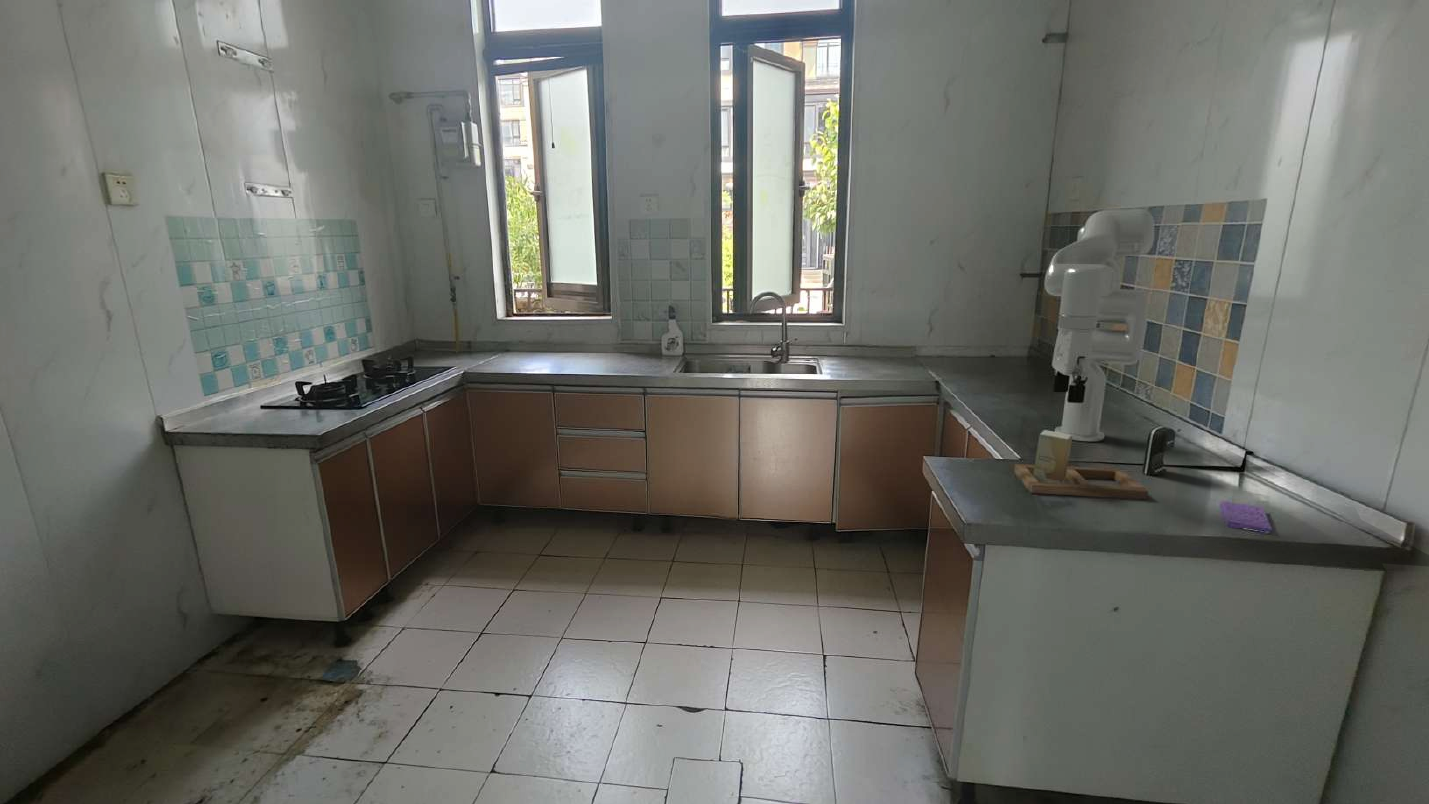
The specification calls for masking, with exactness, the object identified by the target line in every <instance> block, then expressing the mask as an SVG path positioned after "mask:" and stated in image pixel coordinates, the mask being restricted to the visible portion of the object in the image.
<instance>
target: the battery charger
mask: <svg viewBox="0 0 1429 804" xmlns="http://www.w3.org/2000/svg"><path fill="white" fill-rule="evenodd" d="M1175 441H1176V431H1175V429H1173V428H1169V427H1166V426H1156V427H1154V428H1151V429H1150V430H1149V433H1148V436H1147V441H1146V446H1145V453H1144V460H1143V465H1142V474H1145V475H1150V476H1160V475H1161V474H1164V473H1165V472H1167V467H1166V466H1165V463H1164V455H1165V453H1167V452H1169V451H1171V450H1173V449H1174V447H1175Z"/></svg>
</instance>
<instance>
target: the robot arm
mask: <svg viewBox="0 0 1429 804" xmlns="http://www.w3.org/2000/svg"><path fill="white" fill-rule="evenodd" d="M1076 239H1077V240H1076V241H1073V242H1072V243H1071V244H1069V245H1066V246H1065V247H1062V248H1061V249H1060V250H1058V251H1056V253H1055V254H1054V255H1053V257H1052V258H1051V260H1050V263H1049V266H1048V268H1047V271H1046V273H1045V277H1044V289H1045V291H1046V293H1048V294H1049V295H1050V296H1053V297H1061V298H1060V299H1061V300H1060V306H1059V313H1058V314H1059V315H1058V323H1057V330H1058V332H1057V335H1056V340H1055V344H1054V351H1053V356H1052V361H1051V366H1052V368H1053V369H1054V376H1053V377H1054V378H1053V386H1052V391H1053V392H1054V393H1065V398H1064V405H1063V414H1062V421H1061V426H1056V427H1055V429H1054V432H1060V433H1064V434H1069V435H1073V437H1072V441H1077V442H1099V441H1102V440H1104V439H1105V433H1104V432H1103V431H1100V426H1101V420H1102V419H1101V418H1102V412H1103V406H1104V399H1105V391H1106V384H1107V377H1106V374H1105V372H1104V370H1103V369H1102V368H1101V366H1100V365H1099V364H1113V365H1125V366H1126V365H1128V366H1129V365H1134V364H1136V363H1138V361H1139V360H1140V358H1141V356H1142V350H1143V346H1144V341H1145V340H1144V339H1145V332H1146V327H1147V326H1146V325H1147V319H1148V314H1149V313H1148V312H1149V297H1148V295H1147V294H1146V293H1145V292H1144V291H1142V290H1137V289H1124V288H1123V289H1120V280H1121V273H1122V271H1121V268H1120V266H1119V265H1118V263H1117V262H1116V260H1115V259H1114V258H1115V256H1116V257H1117V256H1118V257H1119V256H1121V257H1122V256H1124V257H1125V256H1126V257H1130V256H1134V257H1138V256H1139V257H1140V256H1144V255H1146V254H1148V253H1149V252H1150V251H1151V249H1152V247H1153V245H1154V241H1155V221H1154V217H1153V215H1152V214H1151V212H1150V211H1148V210H1146V209H1143V208H1130V209H1129V208H1128V209H1127V208H1126V209H1125V208H1123V209H1106V210H1105V209H1104V210H1099V211H1097V212H1095V213H1094V212H1093V214H1092V215H1090V216H1089V217H1088V219H1087V220H1086V221H1085V225H1083V226H1082V227H1080V229H1079V230H1078V232H1077V238H1076ZM1098 324H1106V325H1107V324H1110V325H1122V326H1124V327H1125V329H1118V328H1117V329H1115V328H1107V327H1105V328H1104V327H1103V328H1102V327H1097V325H1098Z"/></svg>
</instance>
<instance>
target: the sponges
mask: <svg viewBox="0 0 1429 804" xmlns="http://www.w3.org/2000/svg"><path fill="white" fill-rule="evenodd" d="M1219 505H1220V506H1219V507H1220V509H1221V513H1222V516H1223V522H1224V521H1225V523H1224V526H1225V525H1226V526H1225V527H1228V526H1231V527H1230V528H1233V527H1237V528H1236V529H1239V528H1247V529H1253V530H1258V531H1263V532H1268V533H1270V534H1271V532H1272V526H1271V524H1270V522H1269V519H1268V516H1267V514H1266V510H1265V509H1264V507H1263V506H1259V505H1252V504H1246V503H1245V504H1242V503H1238V502H1231V501H1229V500H1228V501H1226V500H1221V502H1220V504H1219Z"/></svg>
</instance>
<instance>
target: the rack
mask: <svg viewBox="0 0 1429 804" xmlns="http://www.w3.org/2000/svg"><path fill="white" fill-rule="evenodd" d="M1034 469H1035V464H1027V463H1025V464H1024V463H1014V464H1013V472H1014V474H1015V475H1016V476H1017V477H1018V479H1019V480H1020V481H1021V482H1022V484H1023V485H1024V486H1025V488H1026V489H1027V490H1028V491H1029V493H1030V494H1044V495H1060V496H1061V495H1063V496H1064V495H1065V496H1081V497H1098V498H1099V497H1102V498H1113V499H1114V498H1117V499H1133V500H1136V499H1137V500H1147V499H1148V494H1149V490H1148V489H1147V488H1145V487H1144V486H1142V485H1141V484H1140V483H1139V482H1138V481H1136V480H1135V478H1133V477H1131V476H1130V475H1128V474H1127V473H1126V472H1125V471H1123V469H1121V468H1112V467H1111V468H1107V467H1089V466H1087V467H1086V466H1071V465H1070V466H1067V472H1066V478H1065V480H1067V481H1068V482H1069V483H1067V482H1066V483H1049V482H1038V481H1037V480H1036V478H1035V477H1034V476H1033V475H1034ZM1086 479H1103V480H1114V481H1115V482H1116V483H1117V484H1119V485H1104V484H1103V485H1102V484H1090V483H1089V482H1088V481H1087V480H1086Z"/></svg>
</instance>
